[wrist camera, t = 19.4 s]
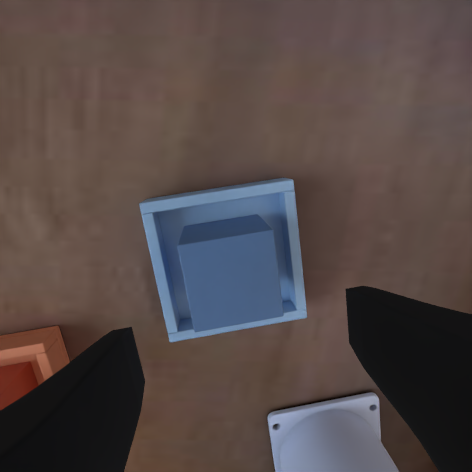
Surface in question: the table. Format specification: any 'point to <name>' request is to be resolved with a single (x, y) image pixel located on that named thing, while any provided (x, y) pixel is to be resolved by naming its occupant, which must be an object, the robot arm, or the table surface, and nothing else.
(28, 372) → the red block
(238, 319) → the blue block
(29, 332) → the red tray
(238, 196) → the blue tray
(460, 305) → the table surface
